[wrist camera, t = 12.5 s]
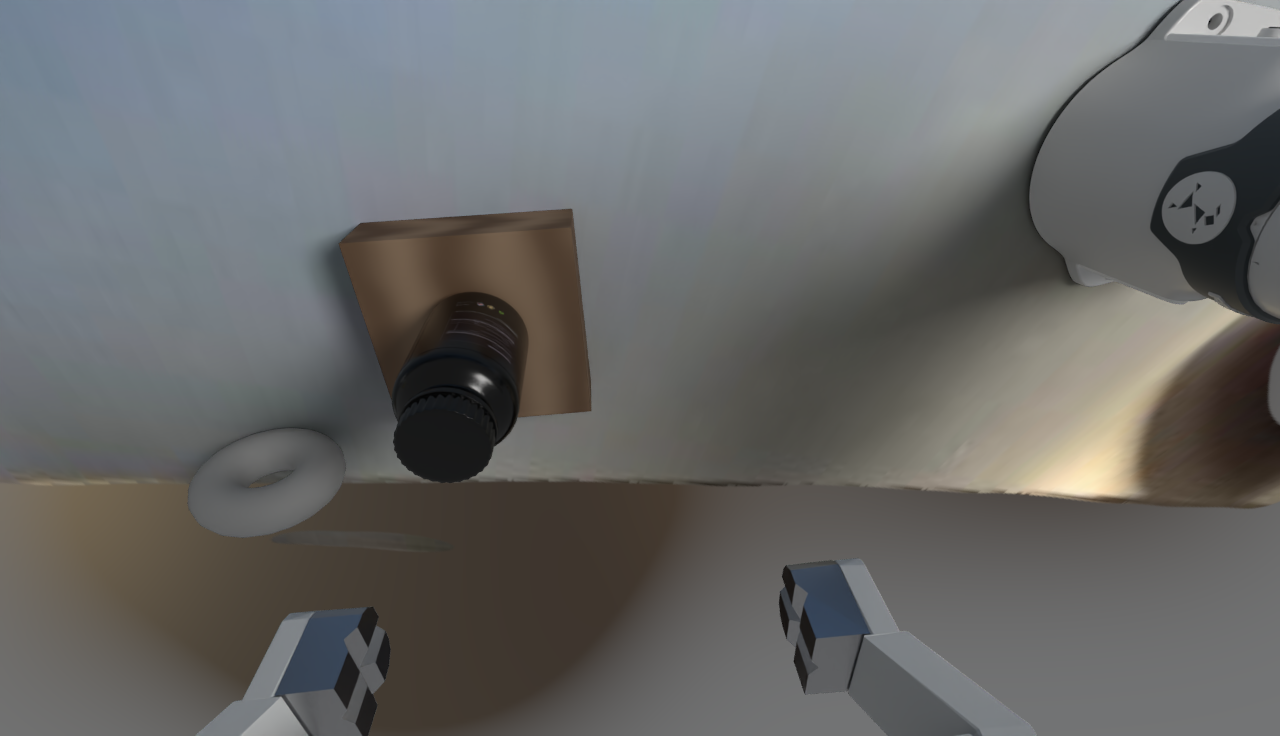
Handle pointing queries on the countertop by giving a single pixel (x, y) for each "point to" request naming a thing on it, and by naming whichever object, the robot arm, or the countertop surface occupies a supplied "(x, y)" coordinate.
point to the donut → (274, 507)
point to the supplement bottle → (460, 387)
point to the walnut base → (479, 262)
